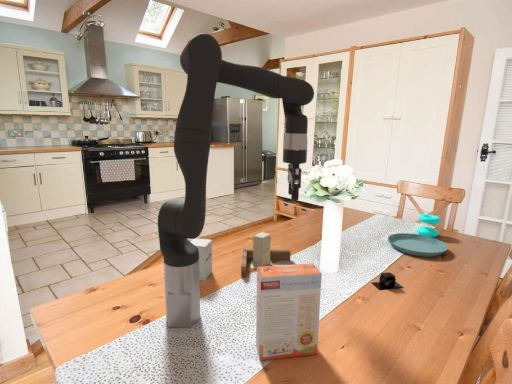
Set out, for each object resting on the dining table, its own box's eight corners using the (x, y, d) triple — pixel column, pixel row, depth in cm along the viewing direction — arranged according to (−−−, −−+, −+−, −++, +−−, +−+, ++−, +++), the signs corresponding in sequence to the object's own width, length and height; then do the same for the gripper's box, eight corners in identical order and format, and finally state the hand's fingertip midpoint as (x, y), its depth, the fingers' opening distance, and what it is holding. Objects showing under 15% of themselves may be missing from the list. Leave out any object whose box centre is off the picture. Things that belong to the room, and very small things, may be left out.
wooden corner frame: (294, 278, 108) (295, 267, 107) (241, 277, 108) (241, 266, 107) (289, 259, 124) (290, 250, 123) (242, 258, 123) (243, 249, 123)
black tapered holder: (376, 293, 100) (377, 280, 99) (364, 282, 107) (365, 270, 106) (409, 290, 102) (411, 277, 101) (395, 280, 109) (397, 268, 108)
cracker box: (309, 338, 77) (314, 261, 72) (317, 355, 71) (323, 273, 67) (254, 343, 74) (256, 264, 70) (258, 361, 69) (260, 277, 64)
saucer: (398, 235, 155) (398, 229, 155) (452, 249, 139) (453, 242, 138) (378, 248, 138) (379, 241, 138) (438, 264, 122) (439, 257, 121)
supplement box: (205, 281, 104) (205, 246, 102) (185, 278, 106) (184, 244, 103) (212, 271, 111) (212, 239, 109) (194, 269, 113) (193, 237, 110)
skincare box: (261, 268, 114) (262, 238, 111) (252, 265, 116) (252, 235, 114) (270, 262, 119) (271, 233, 117) (261, 260, 121) (261, 231, 119)
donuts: (414, 213, 159) (430, 213, 161) (412, 232, 161) (427, 230, 163) (429, 219, 149) (445, 218, 152) (426, 238, 151) (443, 237, 154)
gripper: (281, 146, 103) (280, 192, 107) (285, 149, 90) (283, 202, 93) (303, 146, 104) (301, 193, 107) (311, 149, 90) (308, 202, 93)
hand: (293, 197), depth 100 cm, fingers open, 8 cm apart
